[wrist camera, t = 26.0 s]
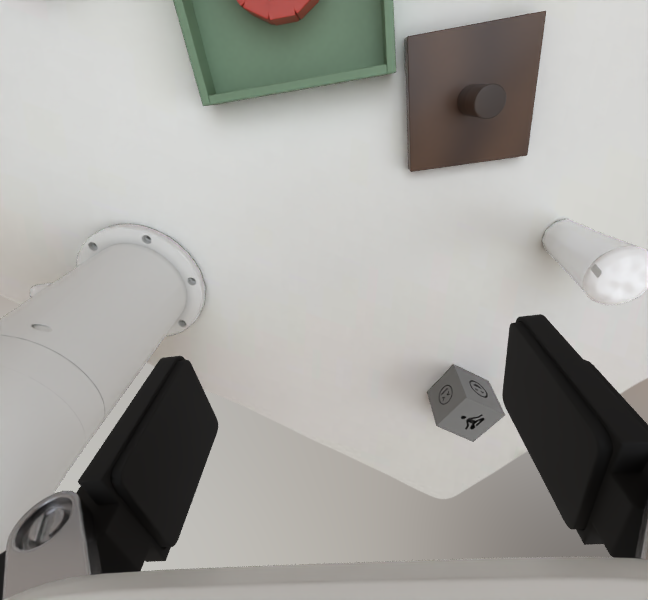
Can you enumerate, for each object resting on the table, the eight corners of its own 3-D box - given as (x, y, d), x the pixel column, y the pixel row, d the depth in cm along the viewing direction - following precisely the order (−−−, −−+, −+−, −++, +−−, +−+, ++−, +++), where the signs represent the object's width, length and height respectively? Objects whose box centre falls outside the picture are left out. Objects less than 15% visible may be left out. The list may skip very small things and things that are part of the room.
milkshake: (547, 200, 31) (626, 244, 22) (600, 222, 31) (695, 272, 23) (515, 246, 33) (575, 302, 24) (565, 265, 34) (640, 326, 25)
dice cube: (460, 407, 44) (473, 441, 40) (427, 391, 43) (436, 425, 38) (488, 381, 41) (505, 415, 37) (453, 364, 40) (466, 397, 36)
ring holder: (408, 169, 30) (419, 183, 25) (404, 38, 25) (417, 28, 21) (521, 153, 29) (553, 165, 24) (538, 13, 24) (581, -3, 20)
